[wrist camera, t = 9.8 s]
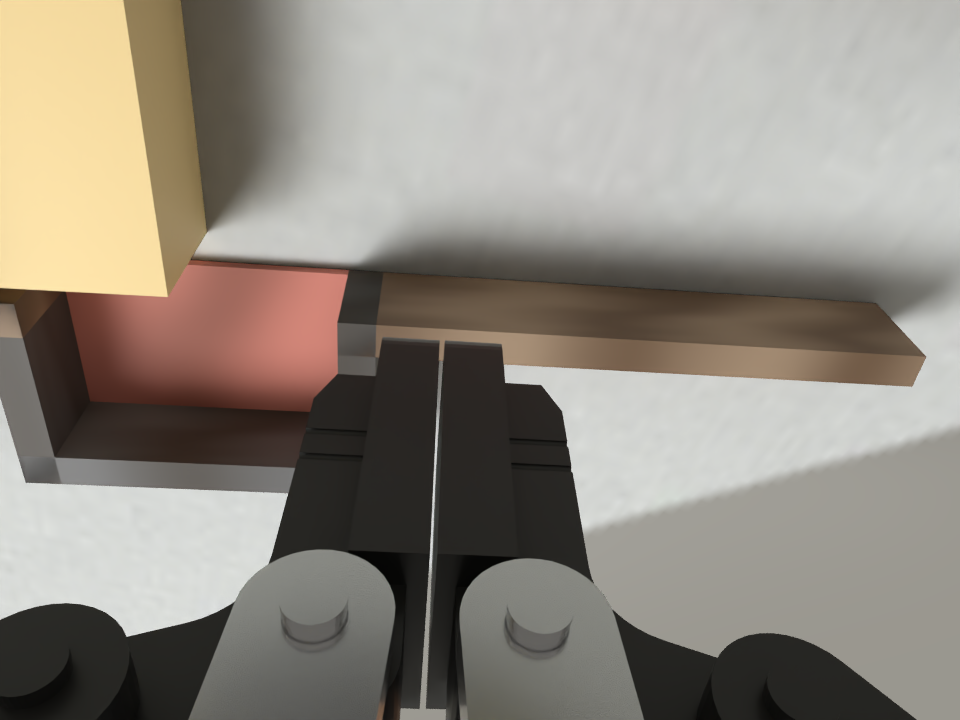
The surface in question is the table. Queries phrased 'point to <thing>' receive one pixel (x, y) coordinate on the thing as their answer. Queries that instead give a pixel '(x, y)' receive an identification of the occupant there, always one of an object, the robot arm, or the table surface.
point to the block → (96, 147)
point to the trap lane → (357, 358)
